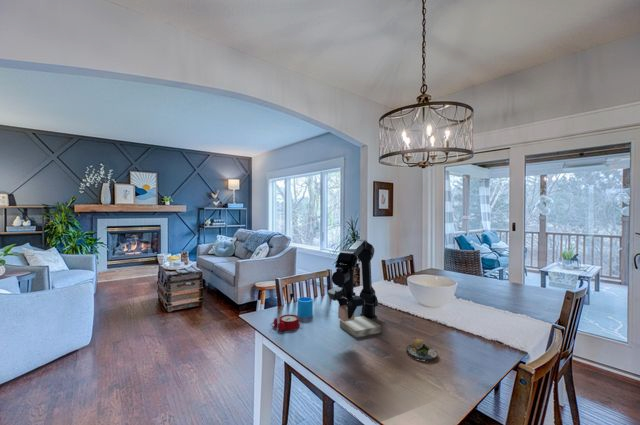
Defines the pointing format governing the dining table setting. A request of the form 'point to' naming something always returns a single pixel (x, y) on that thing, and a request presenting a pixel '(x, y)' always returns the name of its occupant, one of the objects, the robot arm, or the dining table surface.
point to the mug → (305, 307)
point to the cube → (344, 313)
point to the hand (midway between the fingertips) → (346, 316)
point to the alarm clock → (287, 322)
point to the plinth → (360, 326)
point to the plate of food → (421, 351)
